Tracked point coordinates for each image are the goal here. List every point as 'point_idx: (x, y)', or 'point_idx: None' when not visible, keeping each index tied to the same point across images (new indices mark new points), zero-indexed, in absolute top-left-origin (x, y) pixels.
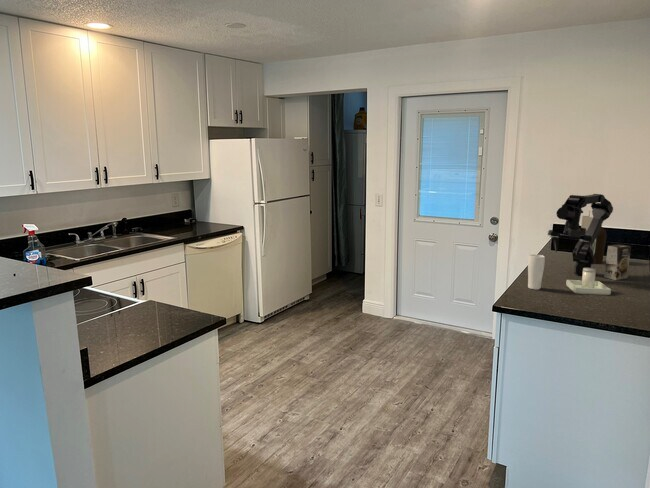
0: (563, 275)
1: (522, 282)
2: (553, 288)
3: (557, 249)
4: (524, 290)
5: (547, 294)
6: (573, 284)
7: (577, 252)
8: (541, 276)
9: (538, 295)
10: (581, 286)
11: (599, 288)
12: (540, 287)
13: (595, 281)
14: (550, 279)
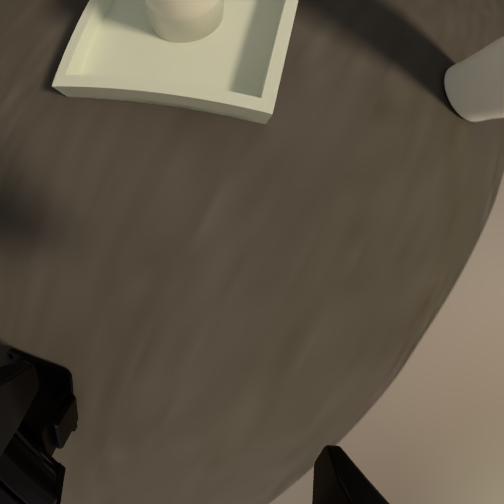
0: (155, 386)
1: (475, 211)
2: (380, 67)
3: (339, 471)
4: None
5: (430, 5)
6: (287, 4)
7: (6, 378)
8: (490, 43)
9: (460, 11)
10: (219, 20)
11: (110, 24)
12: (449, 68)
13: (78, 76)
14: (300, 283)
